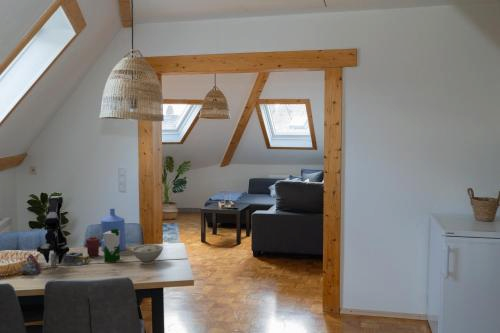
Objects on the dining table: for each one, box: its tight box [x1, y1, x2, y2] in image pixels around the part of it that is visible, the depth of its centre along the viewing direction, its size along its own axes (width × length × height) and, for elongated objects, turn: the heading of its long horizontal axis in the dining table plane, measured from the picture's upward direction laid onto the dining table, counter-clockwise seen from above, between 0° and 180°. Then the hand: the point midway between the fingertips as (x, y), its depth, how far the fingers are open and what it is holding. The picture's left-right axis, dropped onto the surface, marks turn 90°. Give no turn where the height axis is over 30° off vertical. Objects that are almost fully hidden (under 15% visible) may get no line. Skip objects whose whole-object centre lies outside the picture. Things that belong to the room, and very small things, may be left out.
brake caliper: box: [18, 253, 42, 276], centre depth 278 cm, size 11×11×12 cm
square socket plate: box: [56, 251, 93, 266], centre depth 301 cm, size 19×12×5 cm, turn 75°
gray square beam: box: [50, 252, 58, 268], centre depth 291 cm, size 2×2×8 cm
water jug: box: [100, 208, 126, 252], centre depth 331 cm, size 16×16×28 cm
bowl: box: [131, 244, 164, 265], centre depth 298 cm, size 19×19×10 cm
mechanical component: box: [84, 236, 102, 258], centre depth 315 cm, size 12×10×10 cm
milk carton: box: [102, 229, 121, 263], centre depth 303 cm, size 9×9×20 cm
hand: (53, 263), depth 291 cm, fingers open, 8 cm apart
